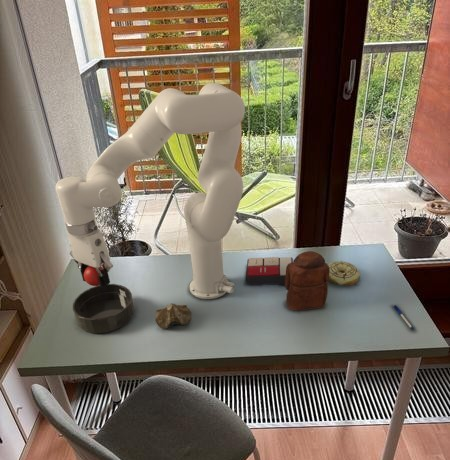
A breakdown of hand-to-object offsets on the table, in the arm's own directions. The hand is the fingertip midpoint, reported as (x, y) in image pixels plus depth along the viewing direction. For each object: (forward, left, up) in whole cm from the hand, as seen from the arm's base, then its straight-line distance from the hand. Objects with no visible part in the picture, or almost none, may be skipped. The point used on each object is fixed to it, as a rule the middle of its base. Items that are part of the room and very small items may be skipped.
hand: (96, 281), depth 123 cm
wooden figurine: (-50, -32, -13) cm, 61 cm away
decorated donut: (-55, -50, -13) cm, 76 cm away
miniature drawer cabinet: (-34, -41, -13) cm, 55 cm away
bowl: (0, 0, -12) cm, 12 cm away
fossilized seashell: (-20, -7, -13) cm, 25 cm away
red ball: (0, 0, +2) cm, 2 cm away
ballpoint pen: (-77, -39, -13) cm, 87 cm away
